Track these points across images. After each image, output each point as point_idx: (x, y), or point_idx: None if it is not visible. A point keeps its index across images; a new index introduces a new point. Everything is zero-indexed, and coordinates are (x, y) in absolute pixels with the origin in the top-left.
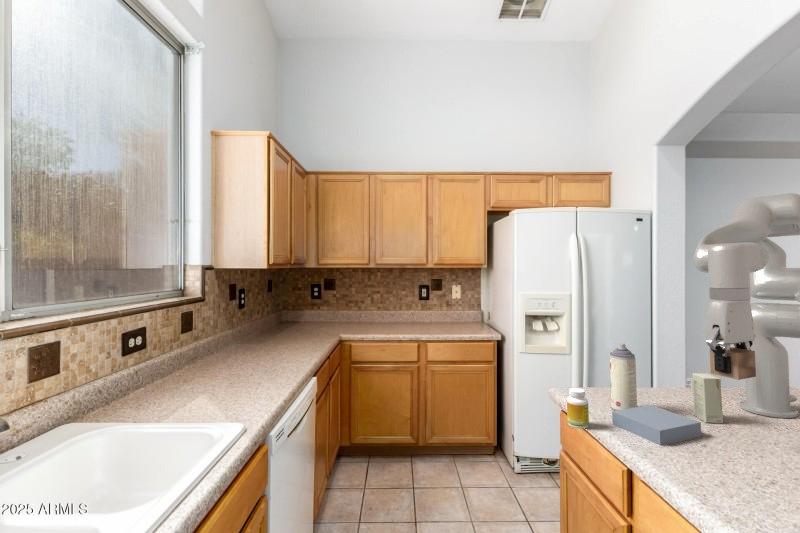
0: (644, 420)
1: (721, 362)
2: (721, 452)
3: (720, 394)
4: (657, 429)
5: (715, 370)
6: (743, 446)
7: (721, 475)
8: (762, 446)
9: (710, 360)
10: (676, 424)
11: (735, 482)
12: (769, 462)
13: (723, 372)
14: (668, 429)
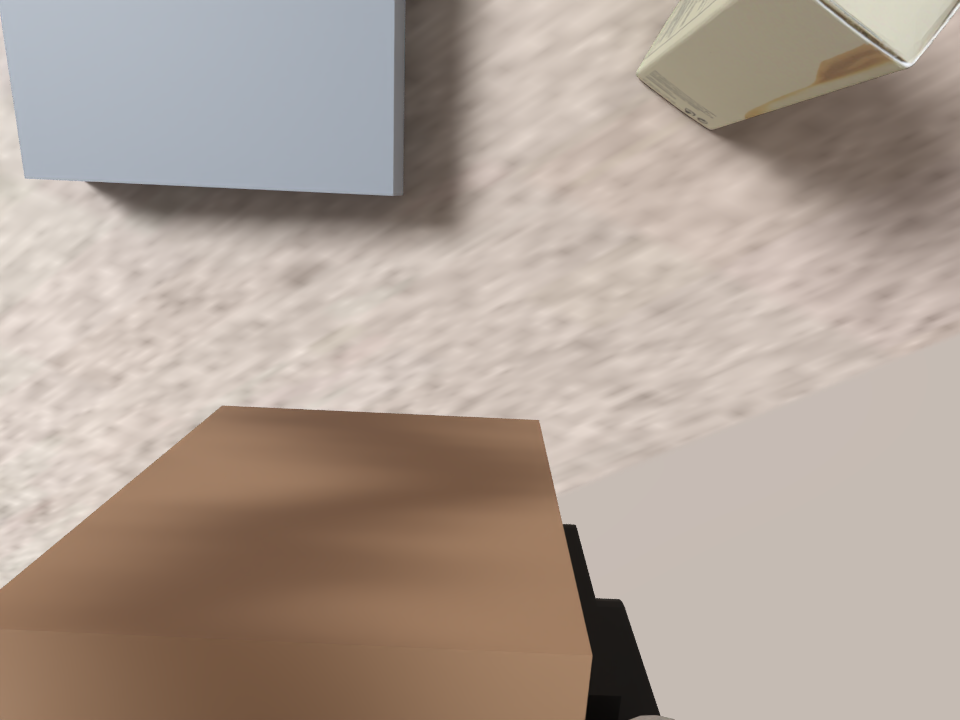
0: (63, 4)
1: None
2: (303, 357)
3: (801, 97)
4: (25, 158)
5: None
6: (469, 359)
7: (93, 478)
8: (550, 394)
9: (123, 492)
10: (213, 153)
11: None
12: None
13: None
14: (104, 181)
